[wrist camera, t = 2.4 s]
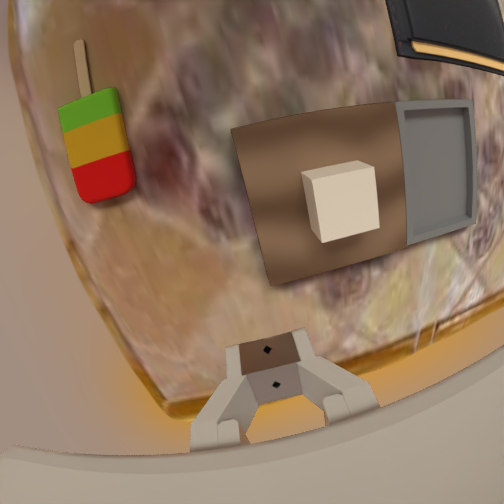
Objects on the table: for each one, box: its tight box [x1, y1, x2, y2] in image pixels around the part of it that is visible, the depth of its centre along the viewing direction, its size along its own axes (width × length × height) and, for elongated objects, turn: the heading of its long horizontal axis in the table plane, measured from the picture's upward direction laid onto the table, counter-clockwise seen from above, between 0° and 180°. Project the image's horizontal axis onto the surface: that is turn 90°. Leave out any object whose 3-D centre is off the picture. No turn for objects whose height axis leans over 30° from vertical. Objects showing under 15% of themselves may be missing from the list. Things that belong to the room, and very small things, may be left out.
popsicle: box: [58, 39, 136, 203], centre depth 21 cm, size 6×15×2 cm, turn 10°
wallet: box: [385, 0, 504, 76], centre depth 18 cm, size 20×2×15 cm
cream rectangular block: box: [301, 160, 380, 243], centre depth 23 cm, size 5×5×3 cm
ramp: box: [231, 103, 406, 286], centre depth 25 cm, size 14×14×2 cm
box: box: [386, 99, 477, 245], centre depth 26 cm, size 14×10×2 cm
